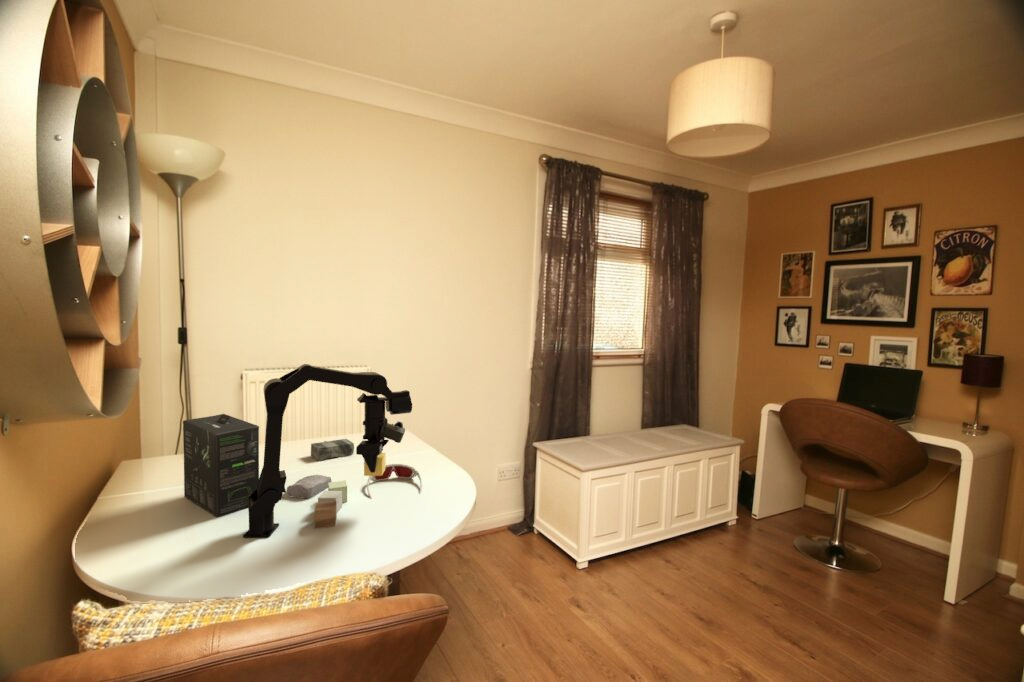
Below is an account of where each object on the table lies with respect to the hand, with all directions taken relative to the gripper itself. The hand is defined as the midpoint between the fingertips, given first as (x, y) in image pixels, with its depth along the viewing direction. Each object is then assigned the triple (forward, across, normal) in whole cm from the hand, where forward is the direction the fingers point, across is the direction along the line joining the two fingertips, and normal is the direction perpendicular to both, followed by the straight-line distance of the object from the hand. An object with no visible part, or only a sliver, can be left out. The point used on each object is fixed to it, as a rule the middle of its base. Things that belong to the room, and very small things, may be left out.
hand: (374, 468), depth 132 cm
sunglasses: (+12, +17, -3) cm, 21 cm away
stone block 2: (+12, +49, +26) cm, 57 cm away
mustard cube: (+1, 0, 0) cm, 1 cm away
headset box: (+12, +7, +46) cm, 49 cm away
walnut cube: (+12, -8, +11) cm, 19 cm away
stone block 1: (+12, +15, +24) cm, 31 cm away
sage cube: (+12, +7, +12) cm, 19 cm away
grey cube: (+12, -1, +12) cm, 17 cm away
